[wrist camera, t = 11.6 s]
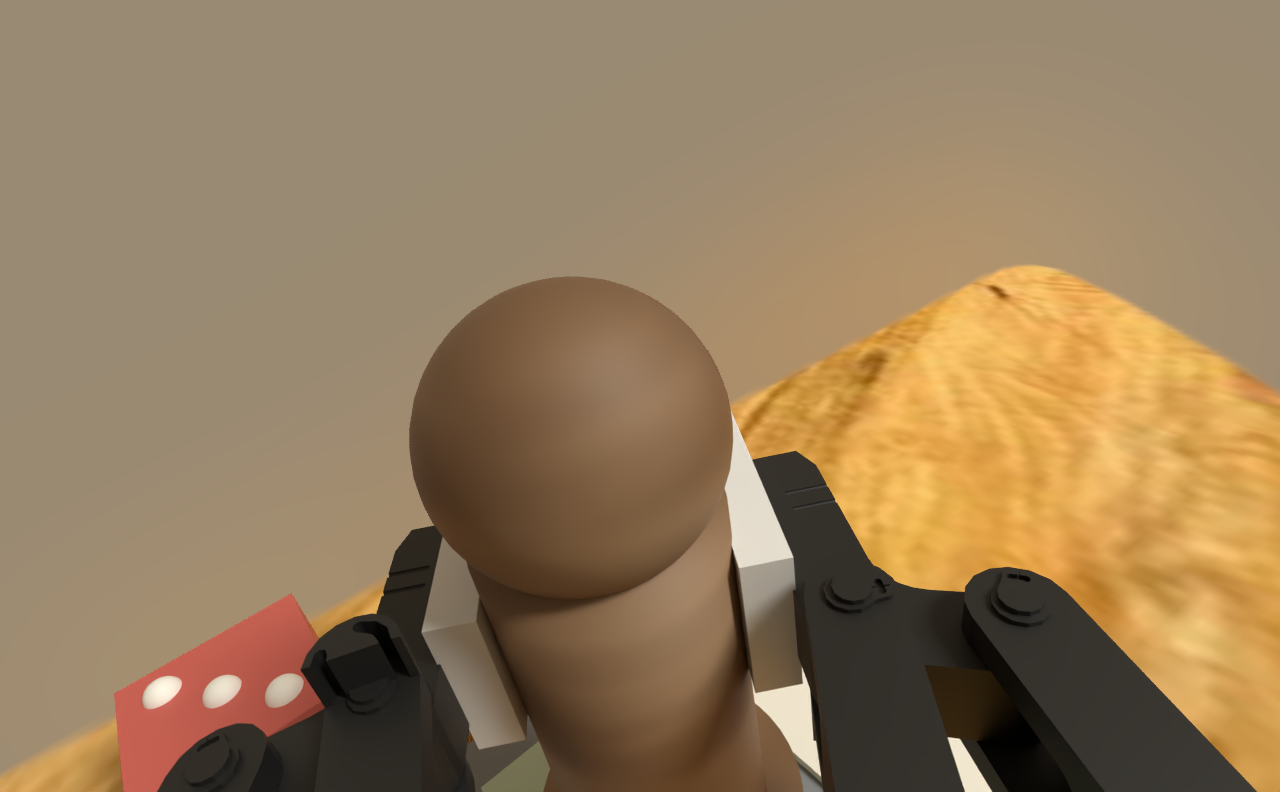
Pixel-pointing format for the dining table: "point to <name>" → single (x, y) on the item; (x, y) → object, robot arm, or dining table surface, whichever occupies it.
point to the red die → (217, 692)
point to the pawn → (600, 534)
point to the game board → (521, 768)
